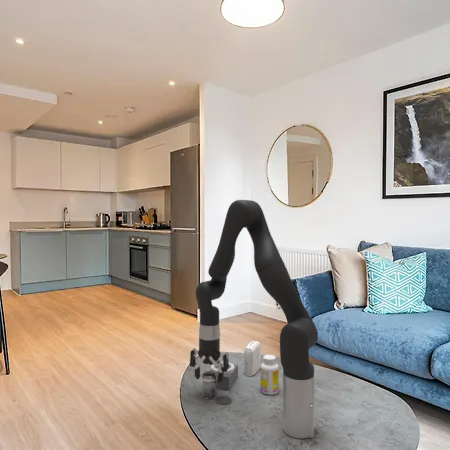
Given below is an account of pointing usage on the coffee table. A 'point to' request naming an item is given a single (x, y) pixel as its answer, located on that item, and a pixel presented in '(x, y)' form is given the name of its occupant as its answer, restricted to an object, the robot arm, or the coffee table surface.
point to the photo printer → (252, 358)
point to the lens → (209, 384)
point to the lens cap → (223, 400)
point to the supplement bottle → (269, 375)
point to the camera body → (227, 376)
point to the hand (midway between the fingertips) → (209, 380)
